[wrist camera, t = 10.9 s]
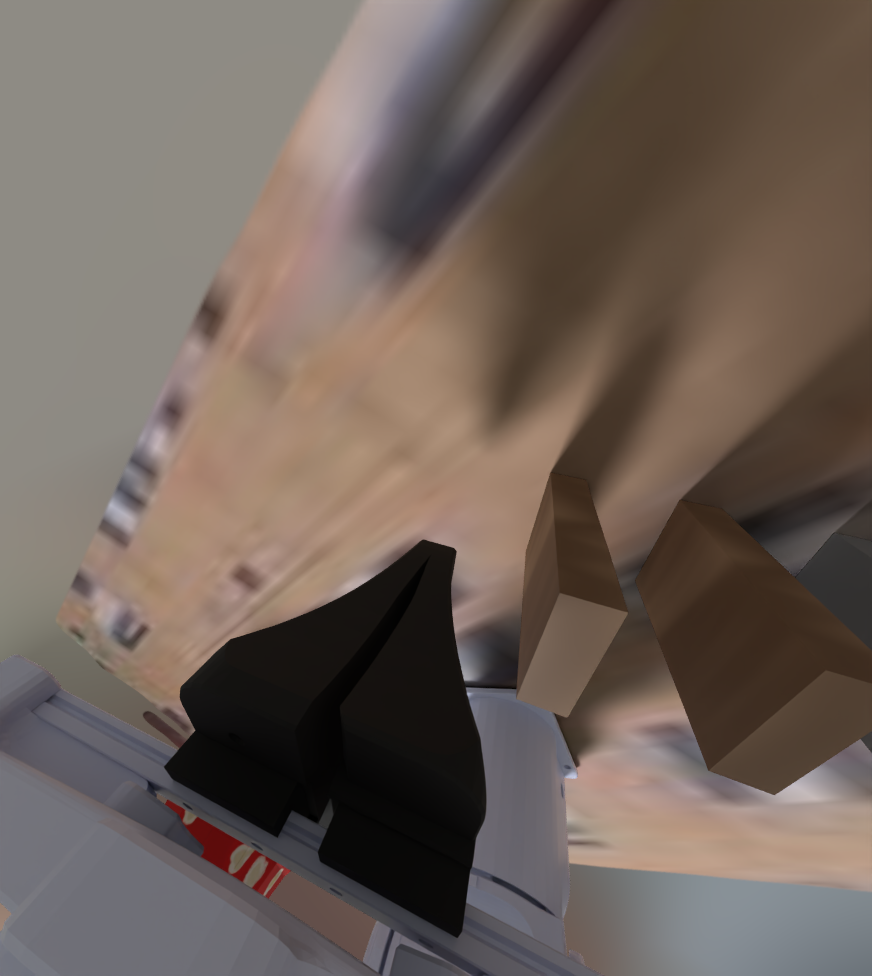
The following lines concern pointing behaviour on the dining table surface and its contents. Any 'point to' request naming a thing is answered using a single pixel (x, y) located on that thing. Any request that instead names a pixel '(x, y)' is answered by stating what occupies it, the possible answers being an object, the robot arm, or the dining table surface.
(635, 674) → the dining table surface
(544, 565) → the domino
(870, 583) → the domino
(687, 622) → the domino
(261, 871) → the decorative mushroom
